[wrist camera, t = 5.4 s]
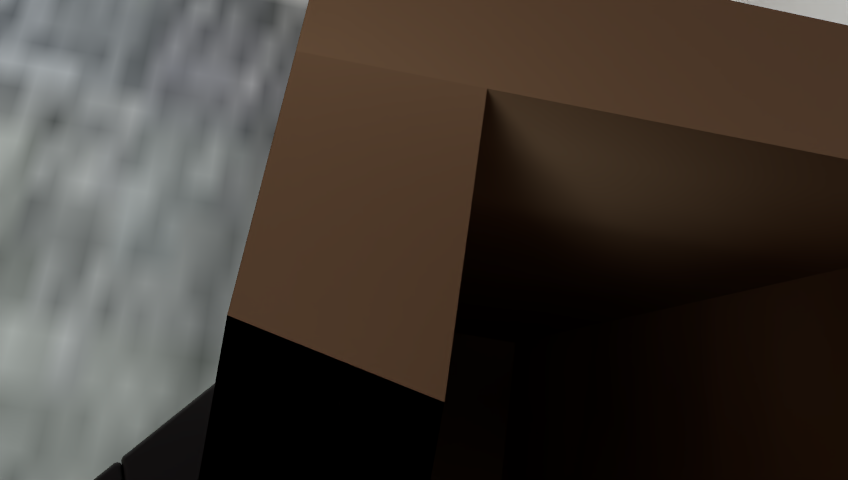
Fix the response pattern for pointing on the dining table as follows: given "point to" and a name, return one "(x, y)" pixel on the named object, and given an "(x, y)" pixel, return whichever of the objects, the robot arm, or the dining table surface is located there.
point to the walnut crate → (547, 248)
